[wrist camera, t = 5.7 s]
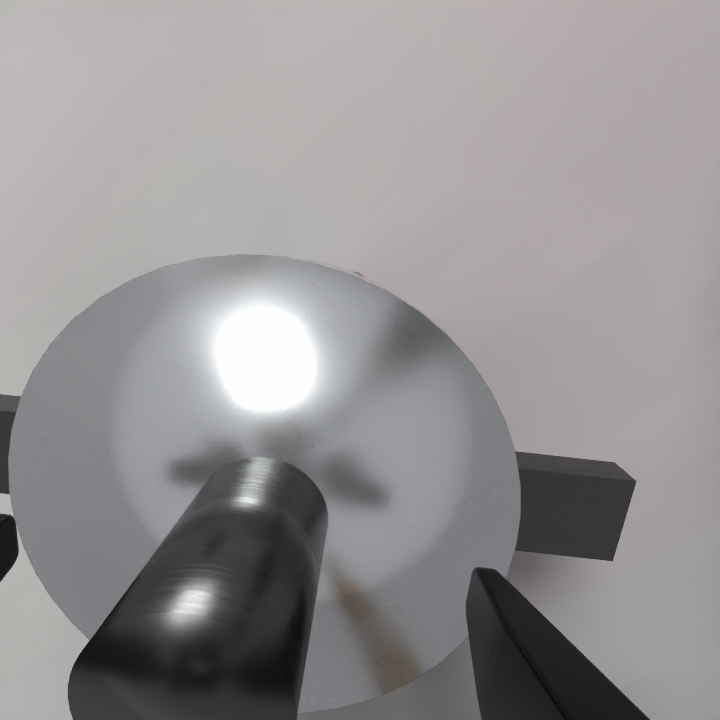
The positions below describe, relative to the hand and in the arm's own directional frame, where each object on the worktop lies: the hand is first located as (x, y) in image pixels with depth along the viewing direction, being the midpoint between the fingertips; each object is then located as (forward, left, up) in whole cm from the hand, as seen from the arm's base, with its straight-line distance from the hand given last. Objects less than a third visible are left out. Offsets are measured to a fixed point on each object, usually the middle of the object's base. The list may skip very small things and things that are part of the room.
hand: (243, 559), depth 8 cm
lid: (0, 0, -2) cm, 2 cm away
